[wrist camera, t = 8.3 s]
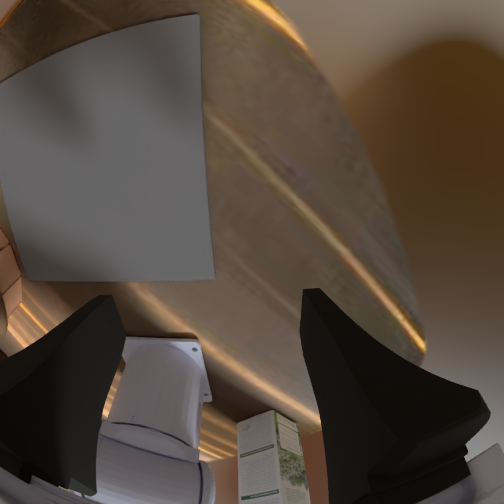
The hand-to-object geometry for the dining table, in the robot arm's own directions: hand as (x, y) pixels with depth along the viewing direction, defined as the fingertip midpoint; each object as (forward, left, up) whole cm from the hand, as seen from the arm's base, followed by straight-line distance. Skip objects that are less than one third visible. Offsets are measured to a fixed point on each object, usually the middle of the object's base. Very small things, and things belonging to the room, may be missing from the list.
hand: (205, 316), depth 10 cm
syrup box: (-26, -3, -10) cm, 28 cm away
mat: (+5, +10, -9) cm, 14 cm away
